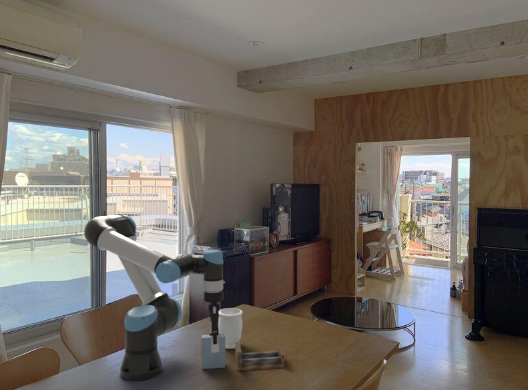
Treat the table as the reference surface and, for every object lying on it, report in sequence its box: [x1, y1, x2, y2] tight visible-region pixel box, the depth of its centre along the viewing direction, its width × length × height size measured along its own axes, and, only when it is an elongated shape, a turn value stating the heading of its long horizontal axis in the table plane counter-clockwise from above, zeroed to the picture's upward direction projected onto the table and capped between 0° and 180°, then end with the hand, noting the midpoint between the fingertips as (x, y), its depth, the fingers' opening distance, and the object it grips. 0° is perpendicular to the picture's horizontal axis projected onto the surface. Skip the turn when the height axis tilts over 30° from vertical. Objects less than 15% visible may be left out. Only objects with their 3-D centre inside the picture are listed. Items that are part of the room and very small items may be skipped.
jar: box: [218, 307, 243, 350], centre depth 173 cm, size 11×10×15 cm
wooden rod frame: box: [234, 341, 285, 372], centre depth 156 cm, size 18×10×7 cm, turn 99°
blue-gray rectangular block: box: [201, 334, 226, 370], centre depth 153 cm, size 9×3×12 cm, turn 99°
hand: (214, 344), depth 153 cm, fingers open, 13 cm apart
